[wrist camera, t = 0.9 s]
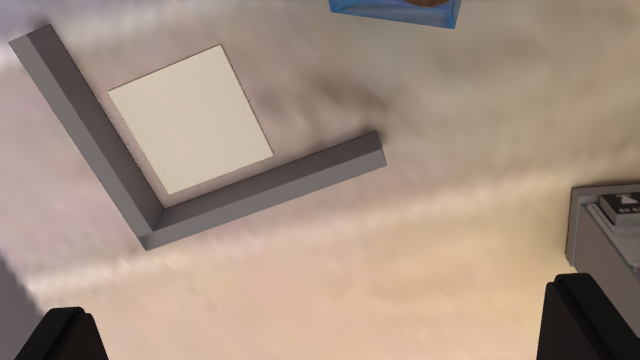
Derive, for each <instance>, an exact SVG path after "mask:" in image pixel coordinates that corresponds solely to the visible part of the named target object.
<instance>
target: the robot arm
mask: <svg viewBox="0 0 640 360" xmlns="http://www.w3.org/2000/svg"><path fill="white" fill-rule="evenodd" d="M14 360H109V359H108V357H107V354H106V351H105V348H104V346H103V343H102V340H101V337H100V335H99V332H98V329H97V326H96V323H95V321H94V318H93V316H92V315H91V314H90V313H85V311H84V309H83V308H81V307H65V308H53V309H50V310H49V311H48V312H47V313H46V314H45V316H44V317H43V319H42V320H41V322H40V323H39V324H38V326H37V327H36V329H35V330H34V332H33V333H32V335H31V336H30V337H29V339H28V341H27V342H26V343H25V345H24V346H23V348H22V349H21V351H20V352H19V353H18V355H17V356H16V358H15V359H14ZM536 360H640V337H637V336H636V334H635V333H634V332H633V330H632V329H631V328H630V326H629V325H628V324H627V322H626V321H625V320H624V318H623V317H622V316H621V314H620V313H619V312H618V310H617V309H616V308H615V306H614V305H613V304H612V302H611V301H610V300H609V298H608V297H607V296H606V294H605V293H604V292H603V290H602V289H601V287H600V286H599V285H598V283H597V282H596V281H595V279H594V278H593V277H592V276H591V275H590V274H589V273H586V272H585V273H570V274H559V275H557V276H556V277H555V280H554V282H549V283H547V285H546V290H545V298H544V305H543V313H542V320H541V328H540V335H539V343H538V350H537V358H536Z"/></svg>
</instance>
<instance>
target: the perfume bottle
mask: <svg viewBox="0 0 640 360" xmlns="http://www.w3.org/2000/svg"><path fill="white" fill-rule="evenodd" d="M329 4H330V10H331V12H334V13H341V14H349V15H356V16H363V17H370V18H377V19H385V20H392V21H399V22H406V23H413V24H421V25H428V26H435V27H442V28H450V29H455V24H456V20H457V16H458V12H459V8H460V4H461V0H329Z"/></svg>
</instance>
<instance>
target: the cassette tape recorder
mask: <svg viewBox="0 0 640 360" xmlns="http://www.w3.org/2000/svg"><path fill="white" fill-rule="evenodd" d="M566 259H567V260H568V262H569V264H570V266H574V267H575V269H576V270H577V272H578V273H585V272H586V273H589V274H590V275H591V276H592V277H593V278H594V279H595V281H596V282H597V283H598V285H599V286H600V287H601V289H602V290H603V292H604V293H605V294H606V296H607V297H608V298H609V300H610V301H611V302H612V304H613V305H614V306H615V308H616V309H617V310H618V312H619V313H620V314H621V316H622V317H623V318H624V320H625V321H626V322H627V324H628V325H629V326H630V328H631V329H632V330H633V332H634V333H635V334H636V336H637V337H640V184H633V185H619V186H605V187H591V188H577V189H573V192H572V202H571V212H570V221H569V231H568V241H567V250H566Z"/></svg>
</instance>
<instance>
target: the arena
mask: <svg viewBox="0 0 640 360" xmlns="http://www.w3.org/2000/svg"><path fill="white" fill-rule="evenodd" d="M8 43H9V45H10V46H11V48H12V49H13V51H14V52H15V54H16V55H17V57H18V58H19V60H20V61H21V63H22V64H23V66H24V67H25V69H26V70H27V72H28V73H29V75H30V76H31V78H32V79H33V81H34V82H35V84H36V86H37V87H38V89H39V90H40V92H41V93H42V95H43V96H44V98H45V99H46V101H47V102H48V104H49V105H50V107H51V108H52V110H53V111H54V113H55V114H56V116H57V117H58V119H59V120H60V122H61V123H62V125H63V126H64V128H65V129H66V131H67V132H68V134H69V135H70V137H71V138H72V140H73V141H74V143H75V145H76V146H77V148H78V149H79V151H80V152H81V154H82V155H83V157H84V158H85V160H86V161H87V163H88V164H89V166H90V167H91V169H92V170H93V172H94V173H95V175H96V176H97V178H98V179H99V181H100V182H101V184H102V185H103V187H104V188H105V190H106V191H107V193H108V194H109V196H110V197H111V199H112V200H113V202H114V204H115V205H116V207H117V208H118V210H119V211H120V213H121V214H122V216H123V217H124V219H125V220H126V222H127V223H128V225H129V226H130V228H131V229H132V231H133V232H134V234H135V235H136V237H137V238H138V240H139V241H140V243H141V244H142V246H143V247H144V249H145V250H146V251H149V250H152V249H155V248H157V247H160V246H163V245H166V244H169V243H171V242H174V241H177V240H180V239H183V238H185V237H188V236H191V235H194V234H197V233H199V232H202V231H205V230H208V229H211V228H213V227H216V226H219V225H222V224H225V223H227V222H230V221H233V220H236V219H239V218H241V217H244V216H247V215H250V214H253V213H255V212H258V211H261V210H264V209H267V208H269V207H272V206H275V205H278V204H281V203H283V202H286V201H289V200H292V199H295V198H297V197H300V196H303V195H306V194H309V193H311V192H314V191H317V190H320V189H323V188H325V187H328V186H331V185H334V184H337V183H339V182H342V181H345V180H348V179H350V178H353V177H356V176H359V175H362V174H364V173H367V172H370V171H373V170H376V169H378V168H381V167H384V166H387V163H386V159H385V156H384V152H383V149H382V146H381V143H380V140H379V138H378V135H377V132H376V131H375V132H372V133H370V134H367V135H364V136H361V137H359V138H356V139H353V140H351V141H348V142H345V143H343V144H340V145H337V146H334V147H332V148H329V149H326V150H324V151H321V152H318V153H315V154H313V155H310V156H307V157H305V158H302V159H299V160H297V161H294V162H291V163H288V164H286V165H283V166H280V167H278V168H275V169H272V170H270V171H267V172H264V173H261V174H259V175H256V176H253V177H251V178H248V179H245V180H242V181H240V182H237V183H234V184H232V185H229V186H226V187H224V188H221V189H218V190H215V191H213V192H210V193H207V194H205V195H202V196H199V197H196V198H194V199H191V200H188V201H186V202H183V203H180V204H178V205H175V206H172V207H169V208H167V209H164V208H163V206H162V205H161V203H160V201H159V200H158V198H157V197H156V195H155V193H154V192H153V190H152V188H151V187H150V185H149V184H148V182H147V180H146V179H145V177H144V175H143V174H142V172H141V171H140V169H139V167H138V166H137V164H136V162H135V161H134V159H133V158H132V156H131V154H130V153H129V151H128V149H127V148H126V146H125V145H124V143H123V141H122V140H121V138H120V136H119V135H118V133H117V132H116V130H115V128H114V127H113V125H112V123H111V122H110V120H109V119H108V117H107V115H106V114H105V112H104V110H103V109H102V107H101V106H100V104H99V102H98V101H97V99H96V97H95V96H94V94H93V93H92V91H91V89H90V88H89V86H88V84H87V83H86V81H85V80H84V78H83V76H82V75H81V73H80V71H79V70H78V68H77V67H76V65H75V63H74V62H73V60H72V58H71V57H70V55H69V54H68V52H67V50H66V49H65V47H64V45H63V44H62V42H61V41H60V39H59V37H58V36H57V34H56V32H55V31H54V29H53V28H52V26H51V24H50V25H47V26H45V27H42V28H40V29H38V30H35V31H33V32H30V33H28V34H26V35H23V36H21V37H19V38H17V39H14V40H12V41H10V42H8ZM108 94H109V95H110V97H111V99H112V100H113V102H114V104H115V105H116V107H117V109H118V110H119V112H120V114H121V115H122V117H123V119H124V120H125V122H126V124H127V125H128V127H129V129H130V130H131V132H132V134H133V135H134V137H135V139H136V140H137V142H138V144H139V145H140V147H141V149H142V150H143V152H144V154H145V155H146V157H147V159H148V160H149V162H150V164H151V165H152V167H153V169H154V170H155V172H156V174H157V175H158V177H159V179H160V180H161V182H162V184H163V185H164V187H165V189H166V190H167V192H168V194H169V195H170V194H172V193H175V192H178V191H180V190H183V189H186V188H188V187H191V186H194V185H196V184H199V183H202V182H204V181H207V180H210V179H212V178H215V177H218V176H220V175H223V174H226V173H228V172H231V171H234V170H236V169H239V168H242V167H244V166H247V165H250V164H252V163H255V162H258V161H260V160H263V159H266V158H268V157H271V156H274V154H273V152H272V150H271V147H270V145H269V143H268V141H267V139H266V137H265V135H264V133H263V131H262V129H261V127H260V125H259V122H258V120H257V118H256V116H255V114H254V112H253V110H252V108H251V106H250V104H249V102H248V100H247V98H246V95H245V93H244V91H243V89H242V87H241V85H240V83H239V81H238V79H237V77H236V75H235V73H234V70H233V68H232V66H231V64H230V62H229V60H228V58H227V56H226V54H225V52H224V50H223V48H222V45H221V44H220V45H218V46H215V47H213V48H210V49H208V50H206V51H203V52H201V53H198V54H196V55H194V56H191V57H189V58H187V59H184V60H182V61H179V62H177V63H175V64H172V65H170V66H167V67H165V68H163V69H160V70H158V71H155V72H153V73H151V74H148V75H146V76H144V77H141V78H139V79H136V80H134V81H132V82H129V83H127V84H124V85H122V86H120V87H117V88H115V89H112V90H110V91H108Z"/></svg>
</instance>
